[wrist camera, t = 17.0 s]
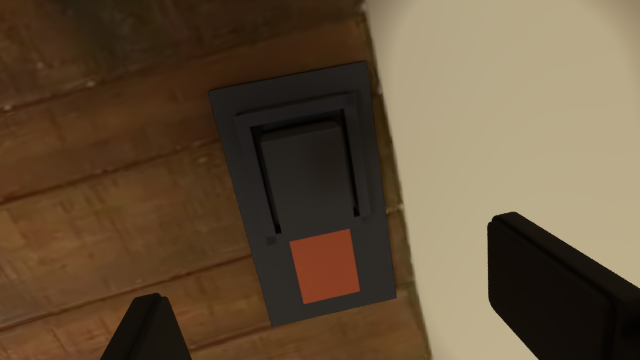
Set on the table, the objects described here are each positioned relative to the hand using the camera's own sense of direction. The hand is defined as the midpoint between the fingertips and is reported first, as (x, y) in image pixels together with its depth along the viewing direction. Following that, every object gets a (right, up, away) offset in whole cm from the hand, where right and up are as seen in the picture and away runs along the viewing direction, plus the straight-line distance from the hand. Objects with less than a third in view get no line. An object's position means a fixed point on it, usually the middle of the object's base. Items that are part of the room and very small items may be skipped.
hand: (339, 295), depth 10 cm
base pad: (-1, +2, +16) cm, 16 cm away
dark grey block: (-2, +4, +14) cm, 14 cm away
